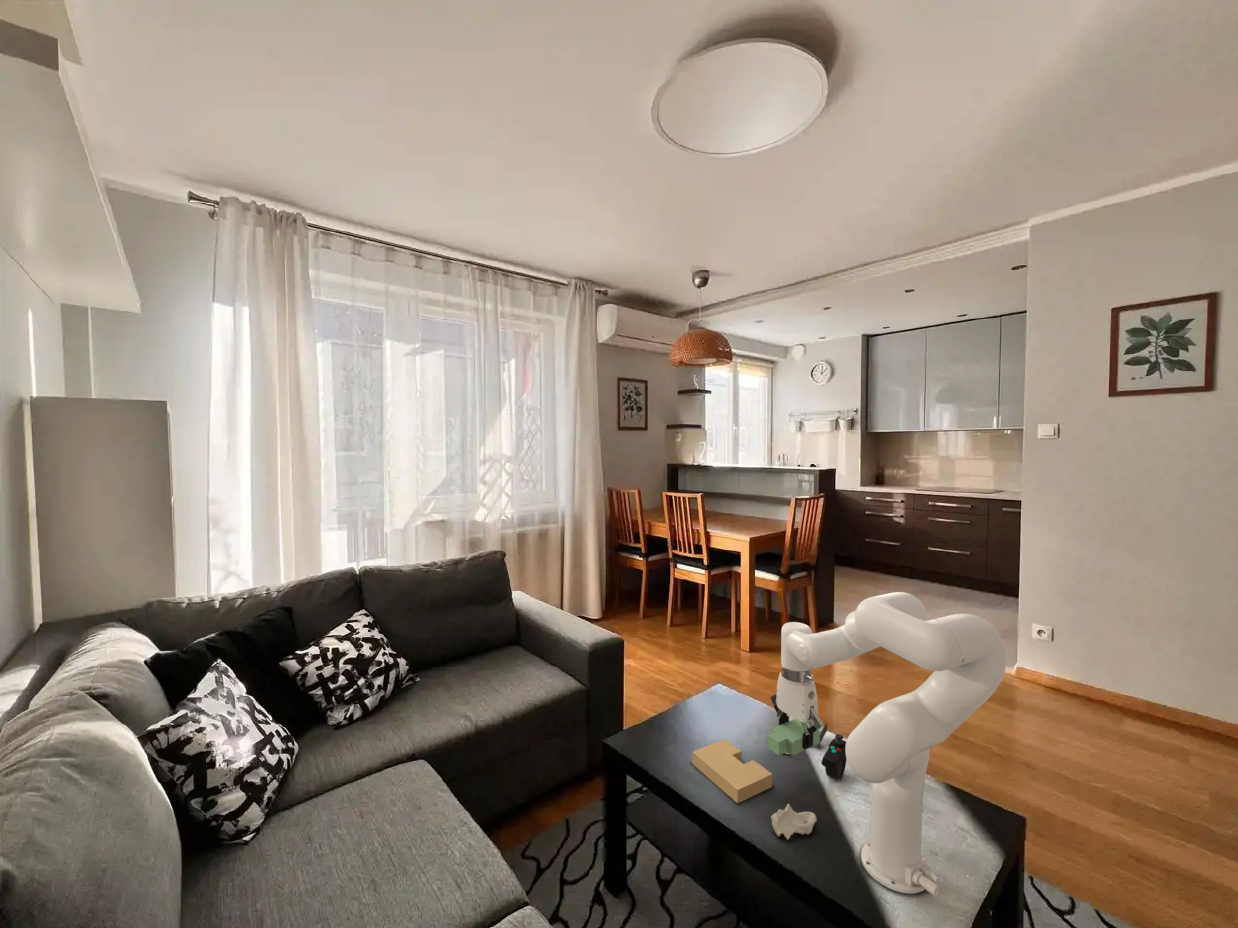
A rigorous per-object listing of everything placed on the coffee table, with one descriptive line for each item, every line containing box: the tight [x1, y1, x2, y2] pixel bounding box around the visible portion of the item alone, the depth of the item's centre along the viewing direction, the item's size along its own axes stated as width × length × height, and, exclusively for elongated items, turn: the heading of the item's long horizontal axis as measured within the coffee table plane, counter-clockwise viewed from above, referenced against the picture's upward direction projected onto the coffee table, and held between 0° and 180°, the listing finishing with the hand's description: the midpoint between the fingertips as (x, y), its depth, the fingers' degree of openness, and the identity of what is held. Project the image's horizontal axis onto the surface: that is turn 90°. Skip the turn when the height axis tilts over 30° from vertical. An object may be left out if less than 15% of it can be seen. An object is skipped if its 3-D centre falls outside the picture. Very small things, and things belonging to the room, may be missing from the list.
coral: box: [770, 803, 818, 840], centre depth 119 cm, size 6×10×4 cm, turn 115°
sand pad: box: [691, 738, 773, 804], centre depth 138 cm, size 18×12×4 cm, turn 30°
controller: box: [820, 733, 847, 781], centre depth 137 cm, size 4×12×10 cm, turn 141°
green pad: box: [767, 719, 821, 756], centre depth 132 cm, size 7×13×4 cm, turn 120°
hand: (795, 739), depth 133 cm, fingers closed on green pad, 7 cm apart
